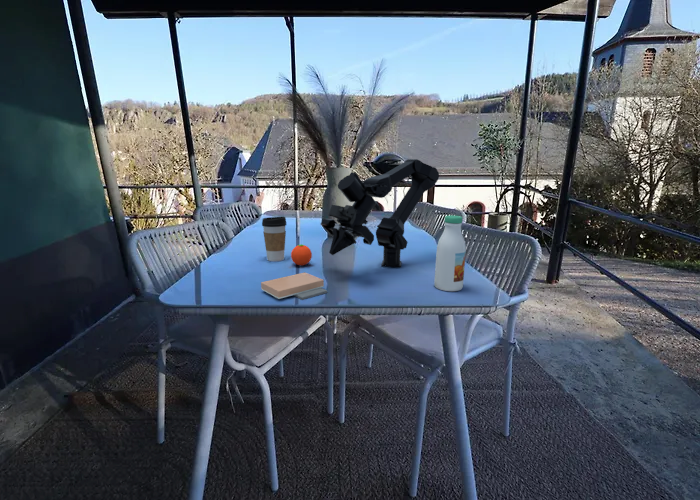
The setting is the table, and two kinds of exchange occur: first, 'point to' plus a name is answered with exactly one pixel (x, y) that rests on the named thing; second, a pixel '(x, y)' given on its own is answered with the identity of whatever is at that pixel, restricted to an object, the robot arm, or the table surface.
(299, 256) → the clementine
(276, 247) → the coffee cup
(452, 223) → the milk bottle
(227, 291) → the table surface
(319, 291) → the mat
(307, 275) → the tile
